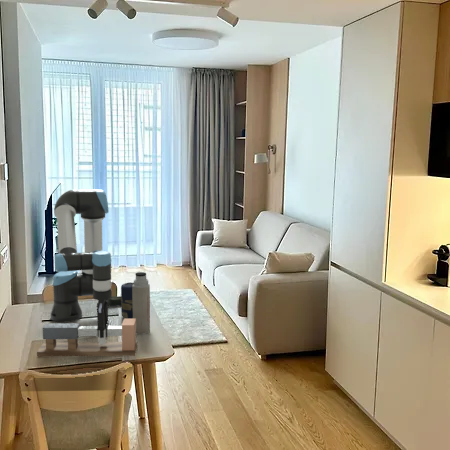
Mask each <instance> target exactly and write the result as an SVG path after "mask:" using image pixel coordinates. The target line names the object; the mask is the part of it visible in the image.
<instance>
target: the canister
mask: <svg viewBox="0 0 450 450" xmlns="http://www.w3.org/2000/svg"><path fill="white" fill-rule="evenodd" d="M133 284H134V282H126V283H122V284H121V286H120V296H121V305H120V310H121V317H122V318H123V319H133V300H132V285H133Z"/></svg>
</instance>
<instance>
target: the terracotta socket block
mask: <svg viewBox="0 0 450 450" xmlns="http://www.w3.org/2000/svg"><path fill="white" fill-rule="evenodd" d="M121 326H122V336H121V342H122V350H134V349H135V345H136V342H137V334H136V318H135V319H126V318H123V320H122V324H121Z"/></svg>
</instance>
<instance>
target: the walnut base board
mask: <svg viewBox="0 0 450 450" xmlns="http://www.w3.org/2000/svg"><path fill="white" fill-rule="evenodd" d="M78 339H79V338H78ZM78 339H67V342H66V341H65V342H64V341H63V342H59V341H57V339H45V342H43V343H41V346H40V347H39V348H38V350H37V351H36V357H37V356H38V358H39V357H40V358H41V357H43V358H44V357H45V358H47V357H53V358H54V357H55V358H56V357H135V356H136V354H137V350H138V344H139V343H138V341H136V345H135V349H134V350H122V341H106V345H99V341H81V342H80V341H79V340H78Z"/></svg>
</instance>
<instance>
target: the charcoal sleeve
mask: <svg viewBox="0 0 450 450" xmlns="http://www.w3.org/2000/svg"><path fill="white" fill-rule="evenodd" d="M79 326H81V324H80V322H77V323H76V322H75V323H72V322H70V323H69V322H58V323H57V322H56V323H55V322H54V323H45V324H44V325H43V326H42V340H46V339H56V340H68V339H79V338H80V336H78V331H77V328H78V327H79Z"/></svg>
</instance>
